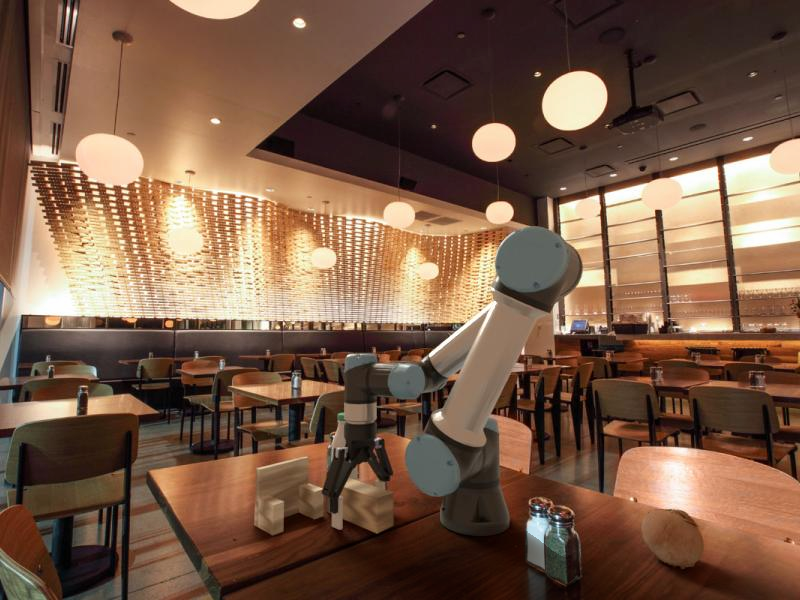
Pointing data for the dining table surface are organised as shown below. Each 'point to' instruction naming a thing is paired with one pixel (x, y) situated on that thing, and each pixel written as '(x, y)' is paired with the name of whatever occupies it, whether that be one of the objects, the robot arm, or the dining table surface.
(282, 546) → the dining table surface
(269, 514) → the upright wooden board
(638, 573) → the dining table surface
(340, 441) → the milk bottle
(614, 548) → the dining table surface
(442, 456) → the robot arm
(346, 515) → the rectangular wooden block
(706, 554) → the dining table surface
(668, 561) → the beige rounded lump
